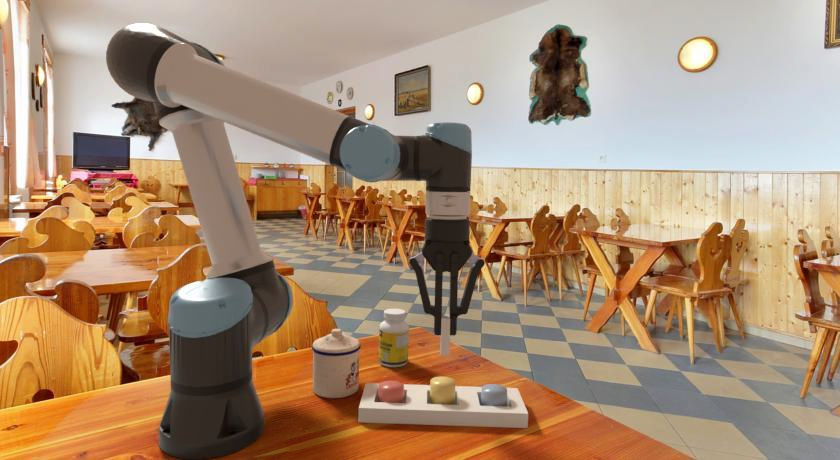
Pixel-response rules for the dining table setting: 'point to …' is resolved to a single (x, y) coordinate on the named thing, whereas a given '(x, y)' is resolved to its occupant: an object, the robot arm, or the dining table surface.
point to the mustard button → (442, 390)
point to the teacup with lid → (336, 365)
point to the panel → (442, 408)
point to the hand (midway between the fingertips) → (444, 352)
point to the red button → (391, 392)
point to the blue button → (493, 395)
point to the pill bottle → (393, 339)
